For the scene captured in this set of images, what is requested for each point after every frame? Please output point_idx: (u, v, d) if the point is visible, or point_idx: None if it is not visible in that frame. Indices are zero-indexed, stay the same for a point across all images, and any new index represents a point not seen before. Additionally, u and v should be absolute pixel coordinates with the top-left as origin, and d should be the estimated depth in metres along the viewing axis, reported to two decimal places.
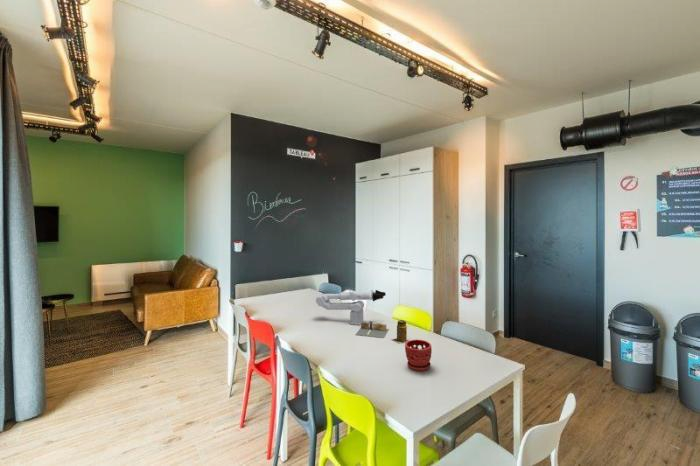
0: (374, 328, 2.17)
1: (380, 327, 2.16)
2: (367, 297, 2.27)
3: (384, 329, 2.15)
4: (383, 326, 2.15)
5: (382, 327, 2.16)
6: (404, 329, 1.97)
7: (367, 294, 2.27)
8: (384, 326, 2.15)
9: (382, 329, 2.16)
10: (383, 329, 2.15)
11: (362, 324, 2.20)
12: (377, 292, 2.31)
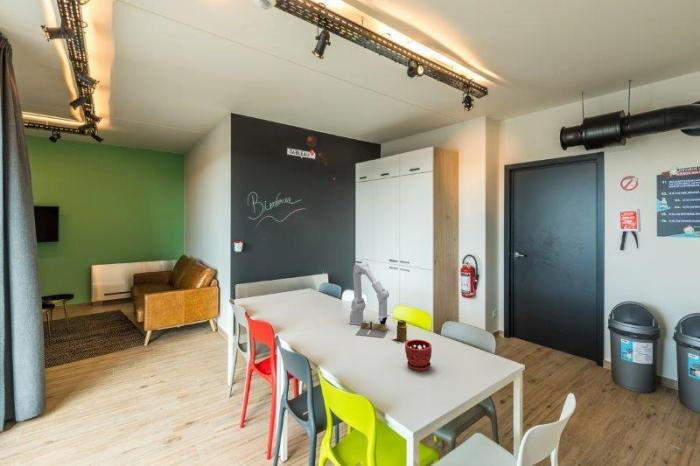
0: (374, 328, 2.17)
1: (380, 327, 2.16)
2: (381, 312, 2.14)
3: (384, 329, 2.15)
4: (383, 326, 2.15)
5: (382, 327, 2.15)
6: (404, 329, 1.97)
7: (384, 312, 2.14)
8: (384, 326, 2.15)
9: (382, 329, 2.15)
10: (383, 329, 2.15)
11: (362, 324, 2.20)
12: None
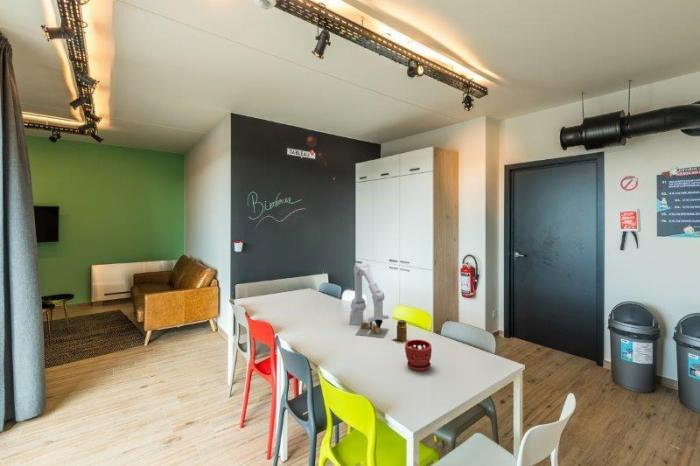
0: (372, 329, 2.16)
1: (375, 329, 2.12)
2: (374, 313, 2.11)
3: (377, 332, 2.10)
4: (376, 329, 2.10)
5: (376, 330, 2.11)
6: (404, 329, 1.97)
7: (376, 314, 2.09)
8: (377, 329, 2.10)
9: (376, 331, 2.11)
10: (376, 332, 2.10)
11: (362, 324, 2.20)
12: None
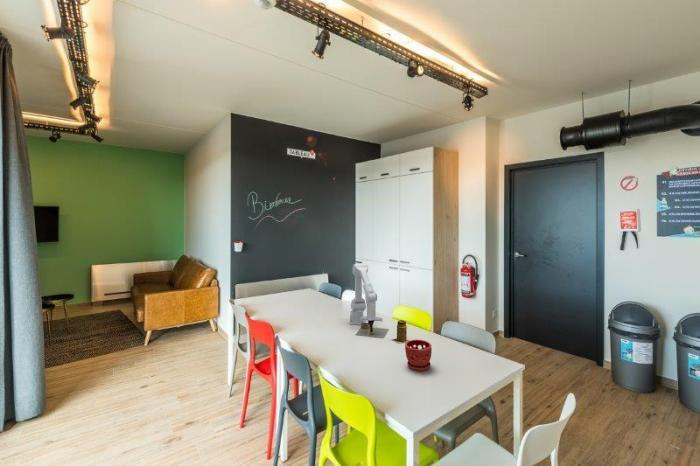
0: None
1: None
2: None
3: None
4: None
5: None
6: (404, 329, 1.97)
7: (367, 314, 2.09)
8: None
9: None
10: None
11: (362, 324, 2.20)
12: None
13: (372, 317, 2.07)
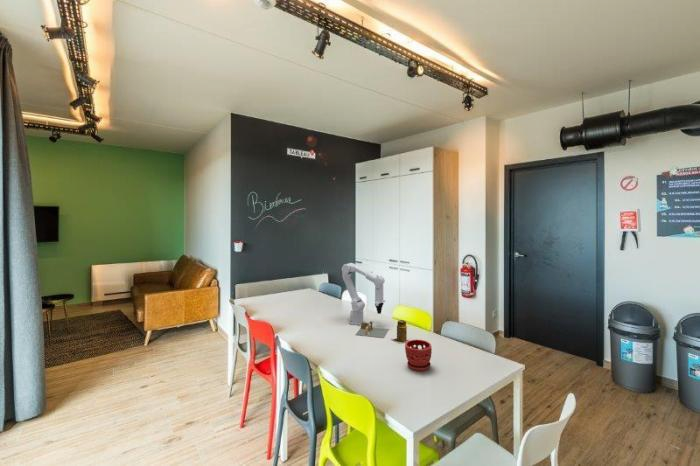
0: None
1: None
2: (377, 297, 2.22)
3: None
4: None
5: None
6: (404, 329, 1.97)
7: (380, 298, 2.21)
8: None
9: None
10: None
11: (362, 324, 2.20)
12: None
13: None
